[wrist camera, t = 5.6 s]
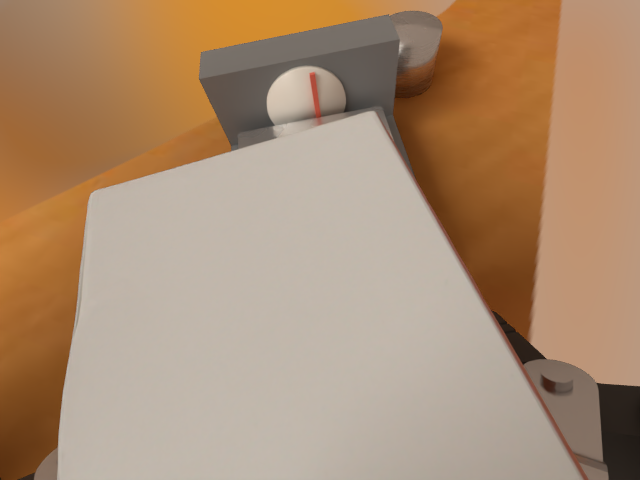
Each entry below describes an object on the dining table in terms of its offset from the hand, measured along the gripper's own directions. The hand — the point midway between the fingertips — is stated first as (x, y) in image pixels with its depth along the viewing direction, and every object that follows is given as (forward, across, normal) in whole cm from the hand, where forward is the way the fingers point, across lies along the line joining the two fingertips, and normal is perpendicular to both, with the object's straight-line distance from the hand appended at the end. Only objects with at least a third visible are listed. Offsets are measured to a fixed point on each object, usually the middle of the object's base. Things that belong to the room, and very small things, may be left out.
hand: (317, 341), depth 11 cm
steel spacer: (+19, -9, -10) cm, 23 cm away
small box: (+4, 0, +6) cm, 7 cm away
